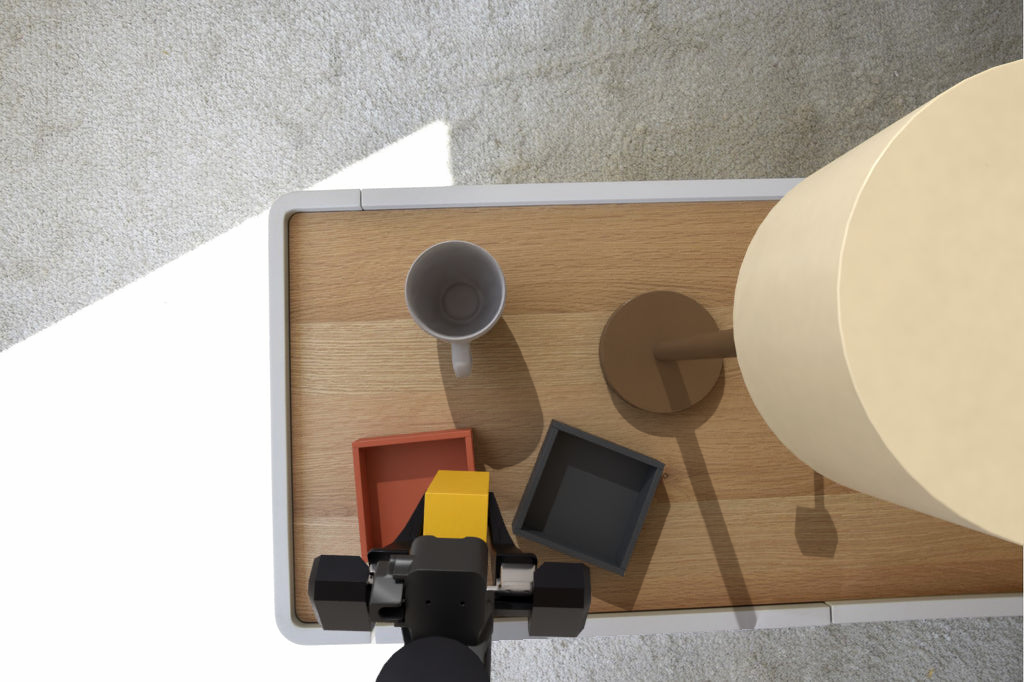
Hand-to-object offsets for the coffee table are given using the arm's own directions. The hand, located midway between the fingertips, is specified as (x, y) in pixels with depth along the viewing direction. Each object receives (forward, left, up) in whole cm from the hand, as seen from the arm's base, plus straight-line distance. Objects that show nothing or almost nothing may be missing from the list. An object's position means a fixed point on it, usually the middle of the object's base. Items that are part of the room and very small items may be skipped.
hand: (460, 493), depth 52 cm
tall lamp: (+15, -17, -13) cm, 26 cm away
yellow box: (-1, 0, -6) cm, 6 cm away
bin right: (0, -12, -13) cm, 18 cm away
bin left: (-3, +4, -13) cm, 14 cm away
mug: (+15, +3, -14) cm, 20 cm away
